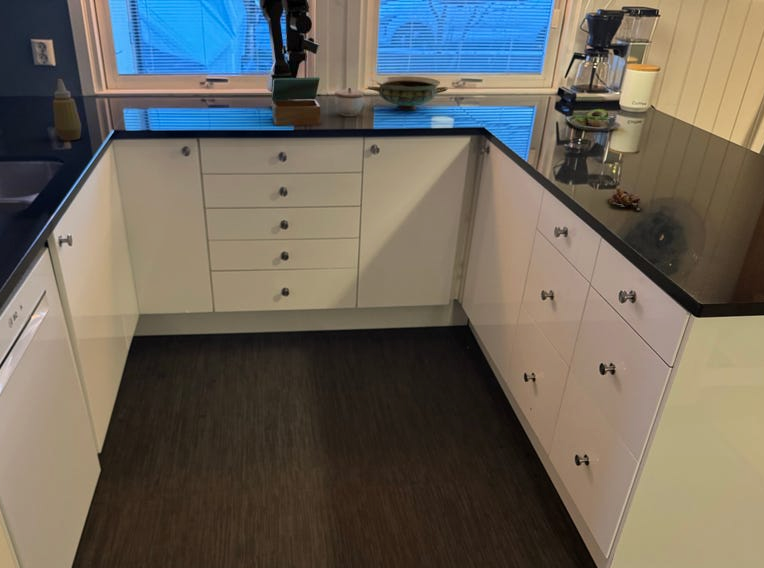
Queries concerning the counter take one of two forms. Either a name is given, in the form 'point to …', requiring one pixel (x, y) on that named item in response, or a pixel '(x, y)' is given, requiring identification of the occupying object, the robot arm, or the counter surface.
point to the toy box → (295, 112)
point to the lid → (295, 88)
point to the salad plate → (593, 121)
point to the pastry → (624, 199)
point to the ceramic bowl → (408, 90)
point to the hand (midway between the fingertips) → (294, 79)
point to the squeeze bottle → (66, 114)
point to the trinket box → (349, 101)
